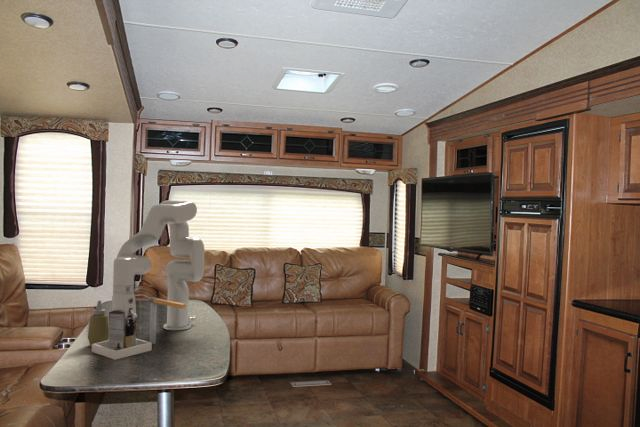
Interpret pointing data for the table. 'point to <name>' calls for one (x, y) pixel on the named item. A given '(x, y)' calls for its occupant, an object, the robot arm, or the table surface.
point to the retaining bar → (167, 302)
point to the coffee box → (119, 331)
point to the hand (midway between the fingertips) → (122, 333)
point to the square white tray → (140, 347)
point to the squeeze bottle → (98, 325)
